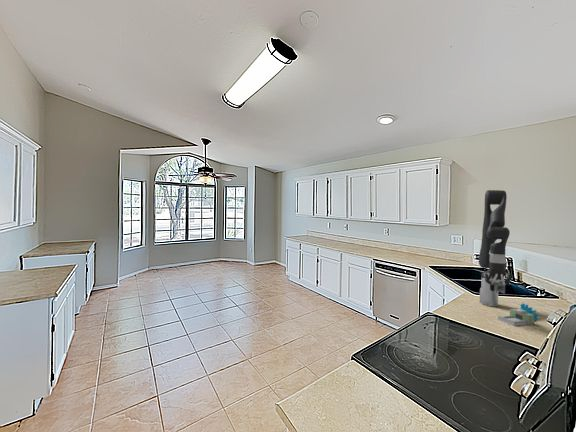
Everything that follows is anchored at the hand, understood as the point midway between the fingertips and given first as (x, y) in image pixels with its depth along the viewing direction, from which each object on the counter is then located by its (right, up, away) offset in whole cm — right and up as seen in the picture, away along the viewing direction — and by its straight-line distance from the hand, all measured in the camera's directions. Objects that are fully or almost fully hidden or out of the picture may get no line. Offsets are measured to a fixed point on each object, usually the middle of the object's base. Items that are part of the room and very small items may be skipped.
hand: (497, 291), depth 161 cm
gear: (+19, -16, 0) cm, 25 cm away
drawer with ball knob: (+6, -16, -5) cm, 18 cm away
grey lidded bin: (0, 0, 0) cm, 0 cm away
